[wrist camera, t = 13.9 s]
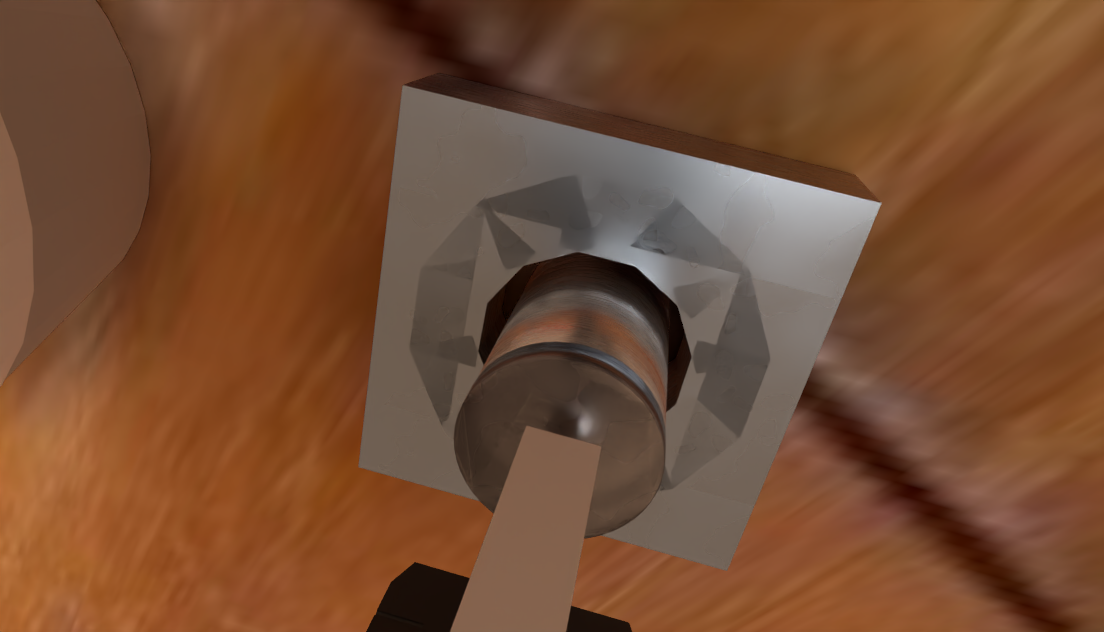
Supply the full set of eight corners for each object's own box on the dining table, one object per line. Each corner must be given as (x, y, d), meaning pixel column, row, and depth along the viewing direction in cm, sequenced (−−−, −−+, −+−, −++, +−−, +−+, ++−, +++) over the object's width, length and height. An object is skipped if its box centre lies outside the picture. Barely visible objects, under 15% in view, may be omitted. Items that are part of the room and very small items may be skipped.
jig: (438, 72, 21) (402, 85, 18) (854, 174, 20) (881, 203, 17) (392, 417, 26) (358, 466, 23) (722, 508, 25) (726, 570, 23)
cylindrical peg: (540, 222, 22) (471, 333, 15) (689, 260, 22) (692, 392, 15) (511, 353, 24) (439, 507, 17) (648, 390, 24) (633, 562, 17)
